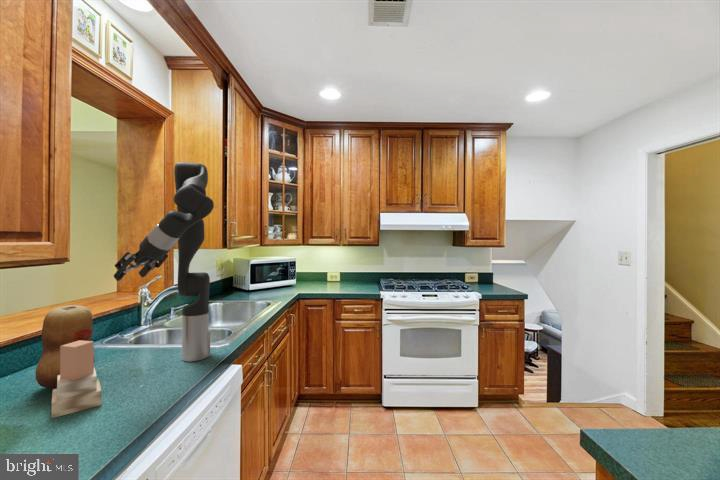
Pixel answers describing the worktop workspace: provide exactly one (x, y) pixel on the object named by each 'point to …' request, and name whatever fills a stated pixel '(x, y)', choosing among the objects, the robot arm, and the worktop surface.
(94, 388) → the beige stepped block
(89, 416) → the worktop surface
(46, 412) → the worktop surface
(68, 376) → the salmon pink rectangular block
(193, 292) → the robot arm
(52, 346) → the butternut squash
